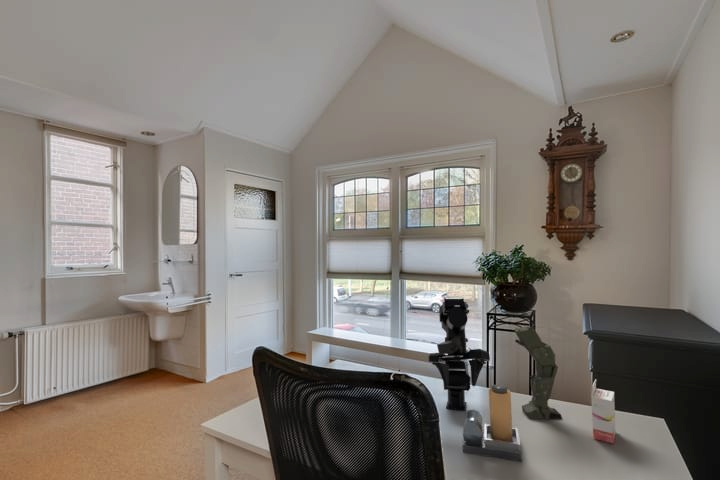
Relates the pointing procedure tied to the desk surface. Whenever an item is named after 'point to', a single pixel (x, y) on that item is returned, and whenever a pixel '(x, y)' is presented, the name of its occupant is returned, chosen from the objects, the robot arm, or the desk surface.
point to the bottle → (500, 413)
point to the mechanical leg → (539, 374)
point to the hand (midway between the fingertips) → (459, 386)
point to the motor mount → (488, 440)
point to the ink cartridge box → (603, 414)
